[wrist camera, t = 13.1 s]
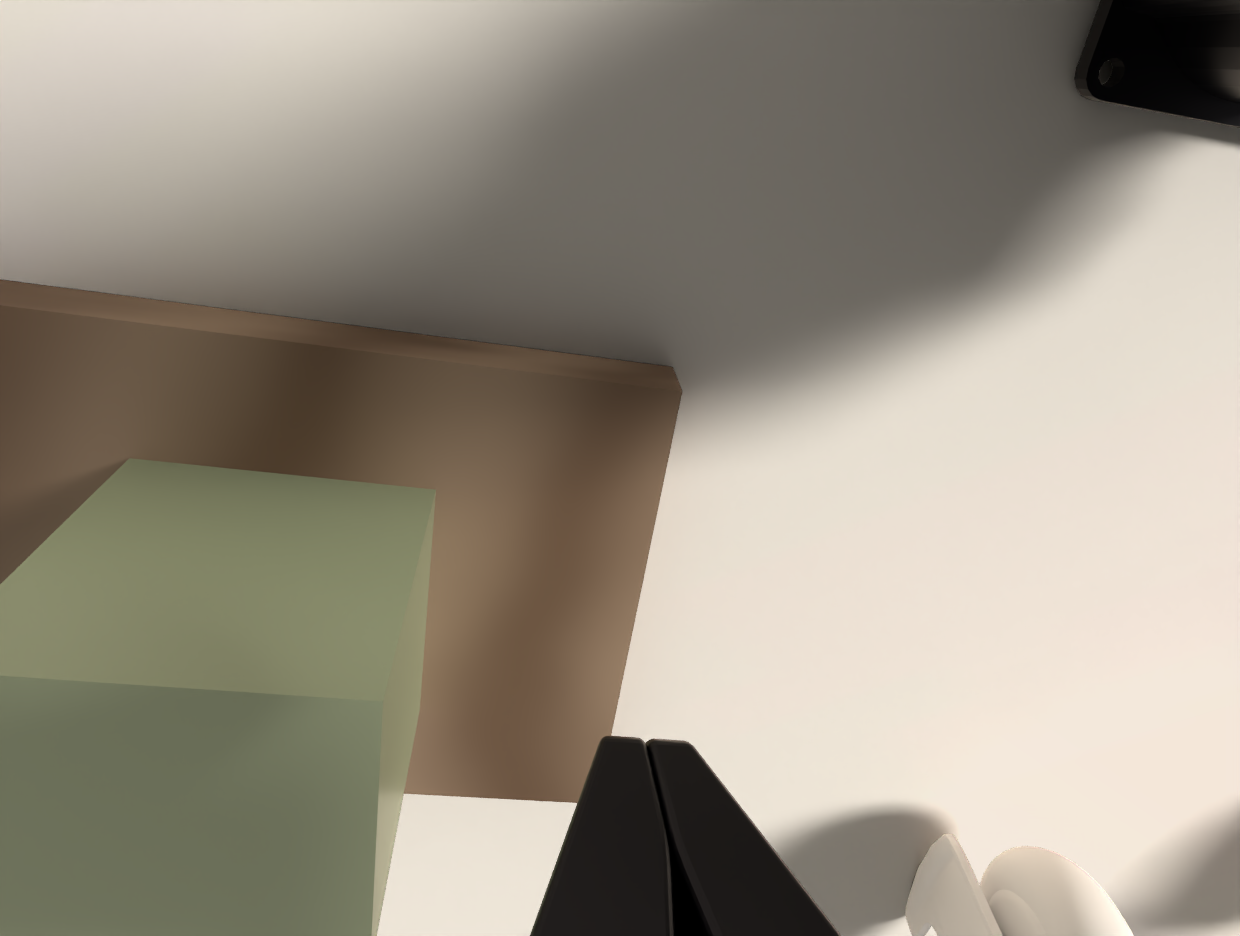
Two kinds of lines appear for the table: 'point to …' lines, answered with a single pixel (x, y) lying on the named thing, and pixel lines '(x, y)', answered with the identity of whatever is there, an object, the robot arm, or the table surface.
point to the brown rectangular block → (383, 454)
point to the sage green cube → (211, 705)
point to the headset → (1008, 896)
